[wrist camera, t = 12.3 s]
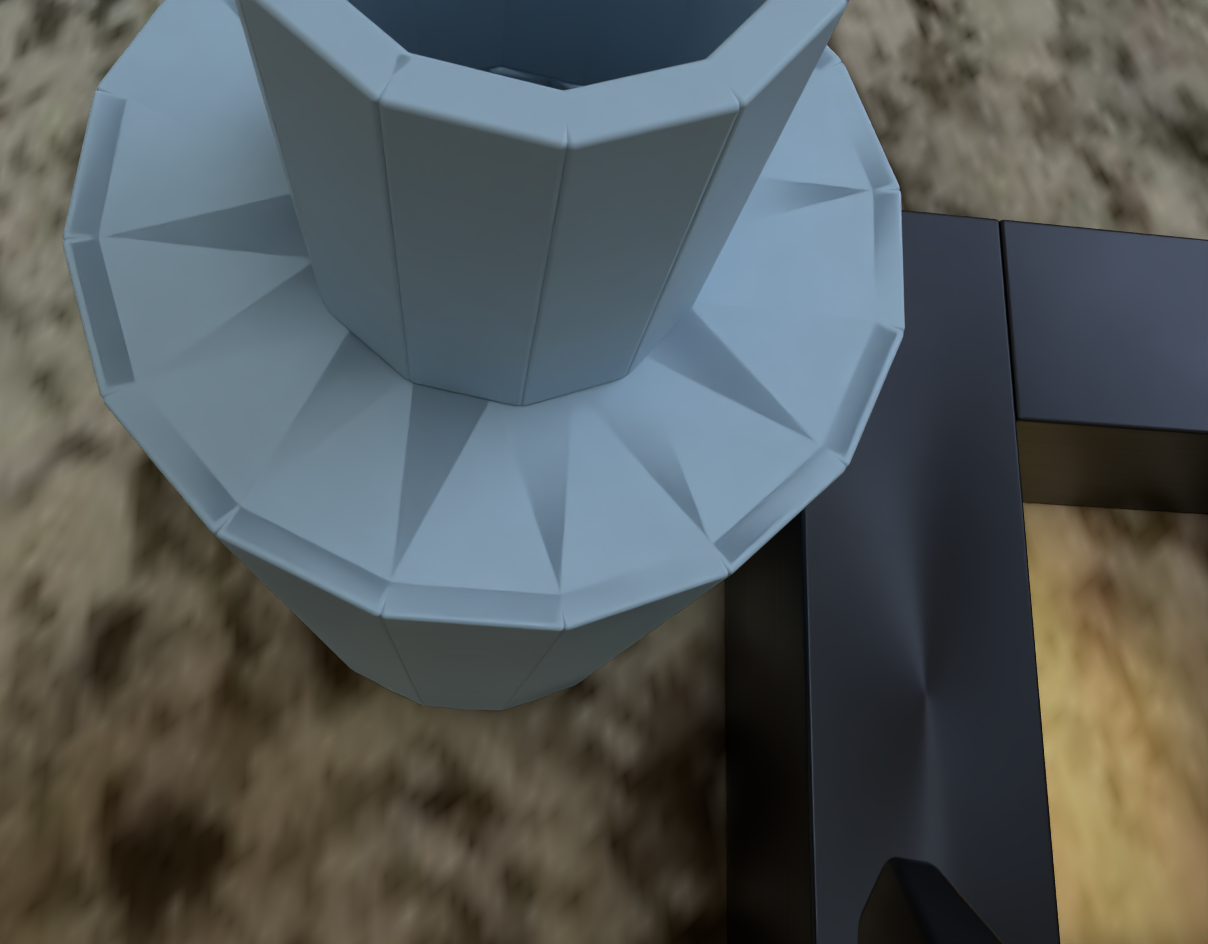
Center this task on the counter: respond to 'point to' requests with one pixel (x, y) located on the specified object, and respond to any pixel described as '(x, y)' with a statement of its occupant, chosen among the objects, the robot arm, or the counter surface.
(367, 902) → the counter surface
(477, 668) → the vase
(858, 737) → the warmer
